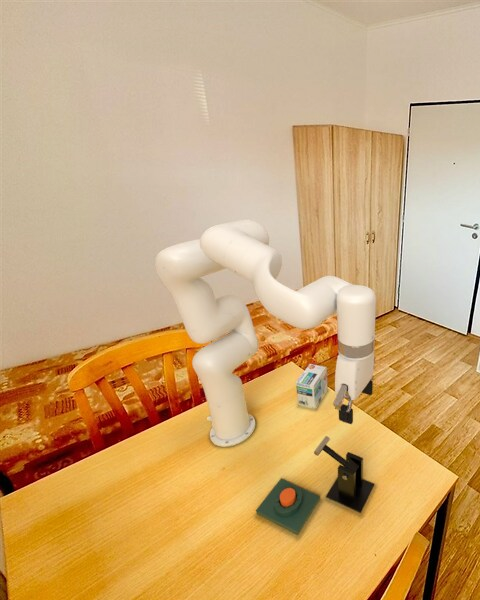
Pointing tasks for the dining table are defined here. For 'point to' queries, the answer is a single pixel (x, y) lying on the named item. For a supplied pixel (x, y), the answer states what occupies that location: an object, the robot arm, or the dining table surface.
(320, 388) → the light bulb box
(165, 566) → the dining table surface
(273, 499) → the control block
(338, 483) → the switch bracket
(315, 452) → the switch lever
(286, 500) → the button
